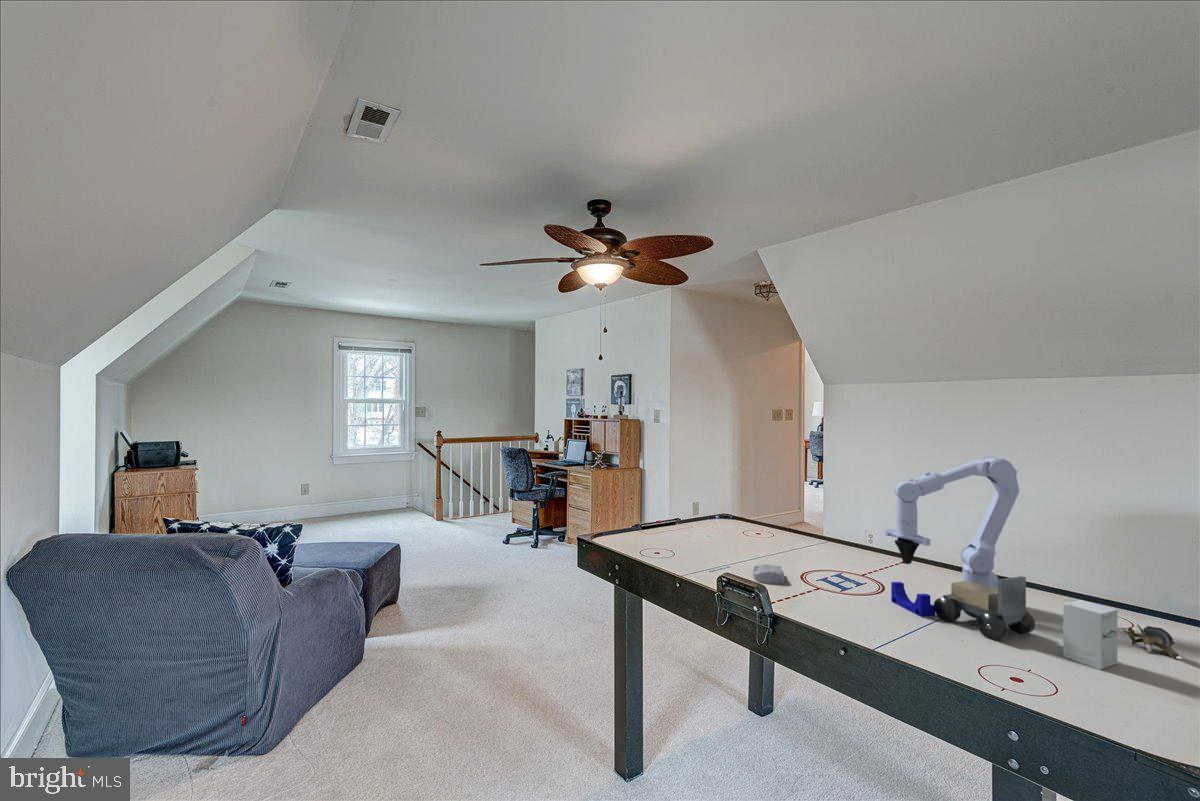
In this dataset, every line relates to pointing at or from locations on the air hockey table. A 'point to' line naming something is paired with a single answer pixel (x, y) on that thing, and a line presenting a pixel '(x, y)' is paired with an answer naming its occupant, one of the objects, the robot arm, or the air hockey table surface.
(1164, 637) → the brown animal figurine
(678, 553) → the air hockey table surface
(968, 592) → the trolley
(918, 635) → the air hockey table surface
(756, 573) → the stone block
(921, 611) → the cable clip
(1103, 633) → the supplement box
